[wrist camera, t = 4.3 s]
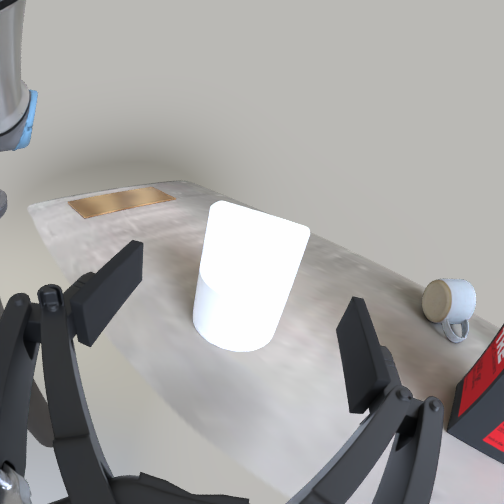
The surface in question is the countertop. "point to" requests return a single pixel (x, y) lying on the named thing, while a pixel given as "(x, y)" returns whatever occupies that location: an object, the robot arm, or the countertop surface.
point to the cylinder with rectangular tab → (245, 275)
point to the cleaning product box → (482, 403)
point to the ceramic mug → (450, 305)
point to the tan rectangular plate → (118, 201)
